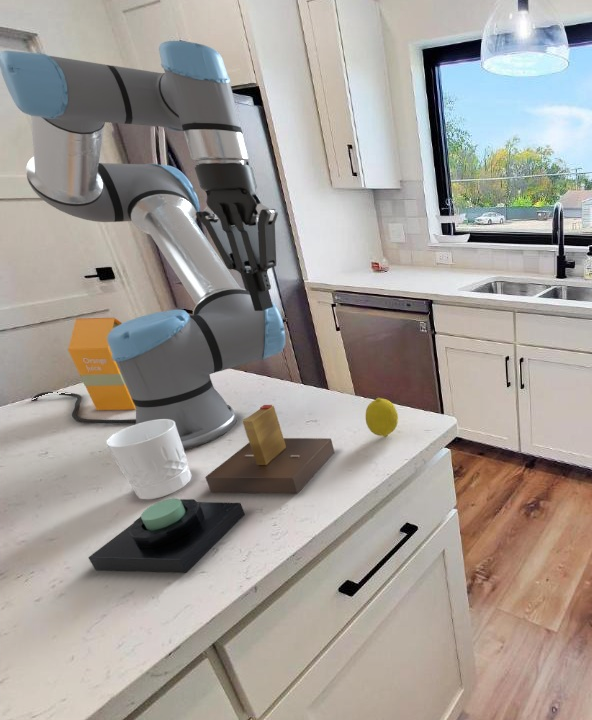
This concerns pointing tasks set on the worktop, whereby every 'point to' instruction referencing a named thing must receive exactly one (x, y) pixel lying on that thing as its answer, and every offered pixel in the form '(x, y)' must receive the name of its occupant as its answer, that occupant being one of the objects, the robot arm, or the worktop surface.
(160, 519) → the bell button
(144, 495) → the white cup
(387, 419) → the lemon
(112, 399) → the orange juice
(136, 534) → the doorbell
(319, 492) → the worktop surface
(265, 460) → the lock turn
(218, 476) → the plate
